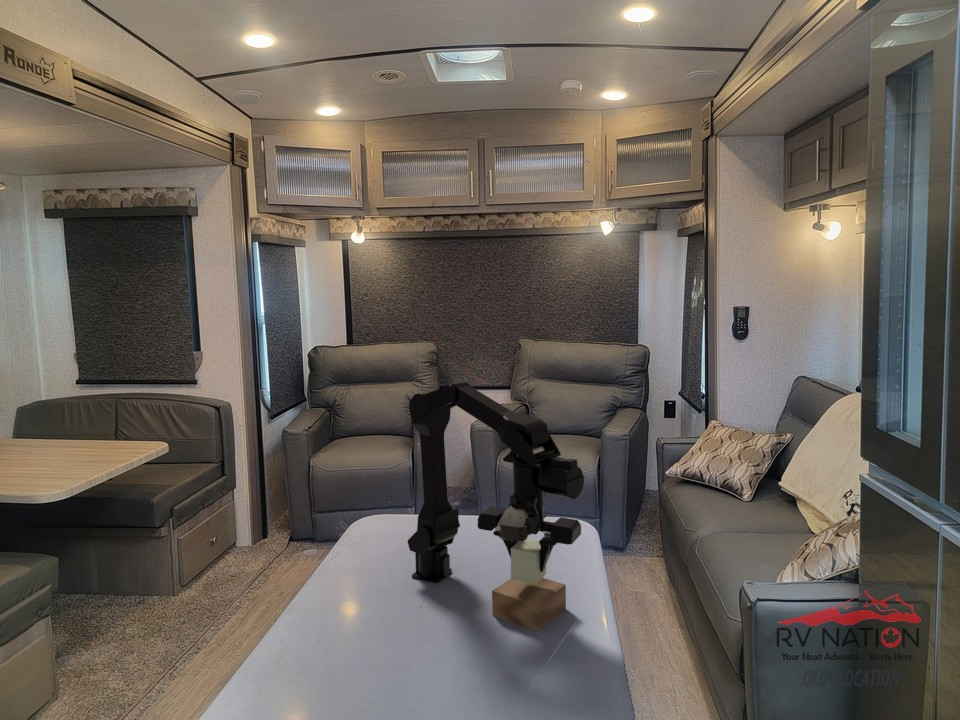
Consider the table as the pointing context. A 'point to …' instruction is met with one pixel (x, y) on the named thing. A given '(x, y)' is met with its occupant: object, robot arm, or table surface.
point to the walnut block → (529, 602)
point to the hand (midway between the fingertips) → (528, 568)
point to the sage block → (526, 562)
